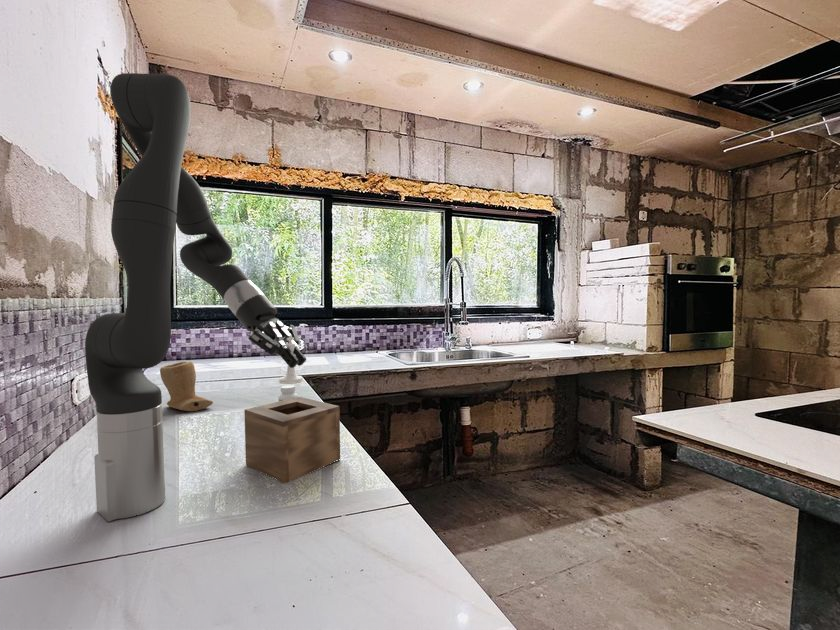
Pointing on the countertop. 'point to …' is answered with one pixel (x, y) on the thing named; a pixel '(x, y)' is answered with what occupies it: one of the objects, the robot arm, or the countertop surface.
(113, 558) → the countertop surface
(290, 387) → the supplement bottle
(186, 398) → the tan fabric boot shape
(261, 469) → the walnut box
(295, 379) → the chess piece
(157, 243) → the robot arm
